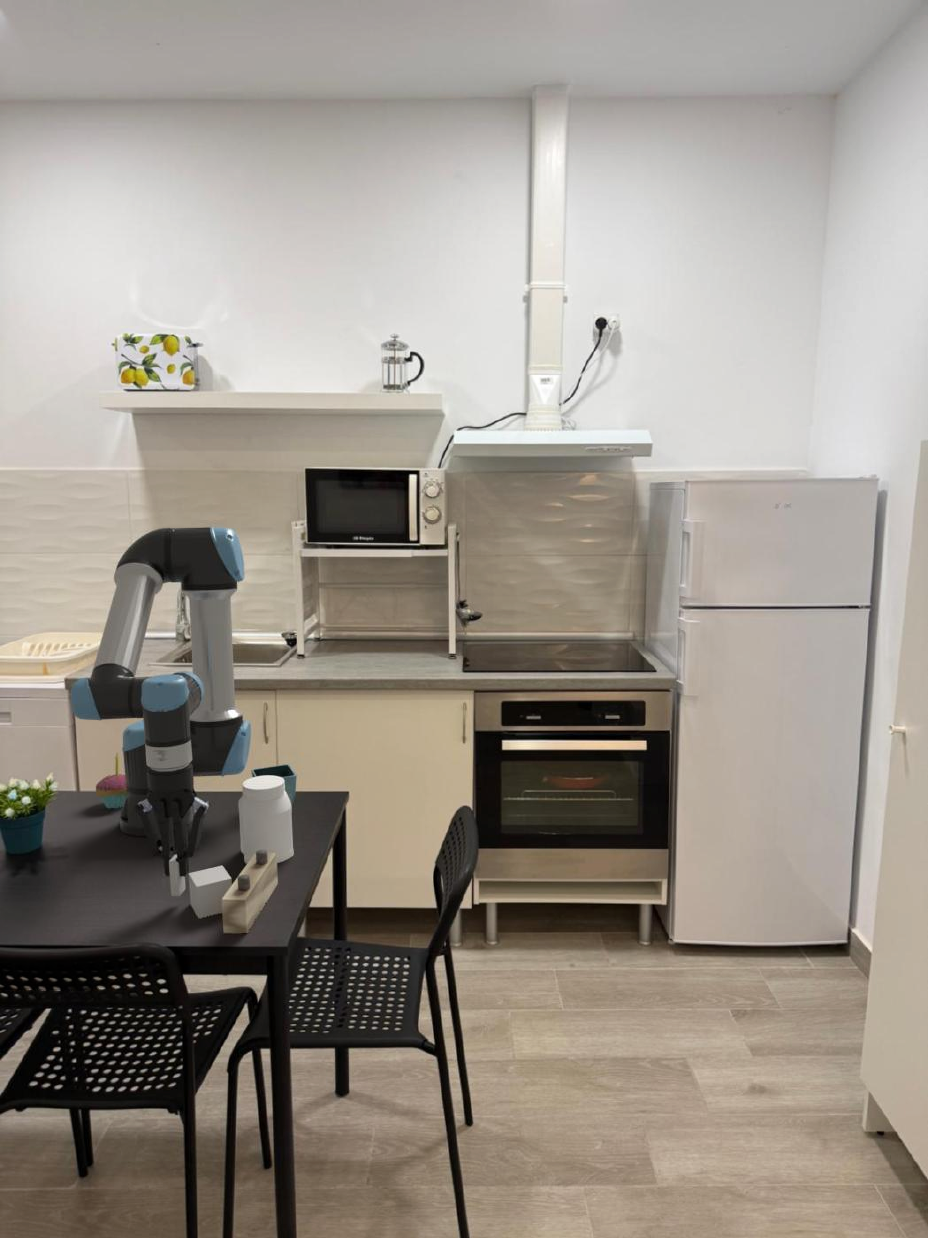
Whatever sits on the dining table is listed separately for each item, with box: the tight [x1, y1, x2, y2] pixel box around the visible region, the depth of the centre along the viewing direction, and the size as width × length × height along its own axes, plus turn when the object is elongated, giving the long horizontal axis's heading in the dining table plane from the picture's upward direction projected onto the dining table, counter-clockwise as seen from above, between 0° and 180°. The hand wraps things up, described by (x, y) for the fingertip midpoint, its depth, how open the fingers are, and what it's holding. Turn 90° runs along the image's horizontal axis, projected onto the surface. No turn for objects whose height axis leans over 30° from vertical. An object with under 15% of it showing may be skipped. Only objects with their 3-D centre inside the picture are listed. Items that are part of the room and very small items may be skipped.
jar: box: [237, 775, 295, 865], centre depth 172 cm, size 12×10×15 cm
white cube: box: [188, 865, 233, 919], centre depth 151 cm, size 6×6×6 cm
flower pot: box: [251, 763, 298, 807], centre depth 196 cm, size 9×9×9 cm
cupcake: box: [95, 752, 126, 809], centre depth 199 cm, size 9×8×12 cm
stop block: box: [221, 850, 279, 934], centre depth 151 cm, size 4×18×8 cm, turn 176°
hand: (178, 892), depth 152 cm, fingers closed
